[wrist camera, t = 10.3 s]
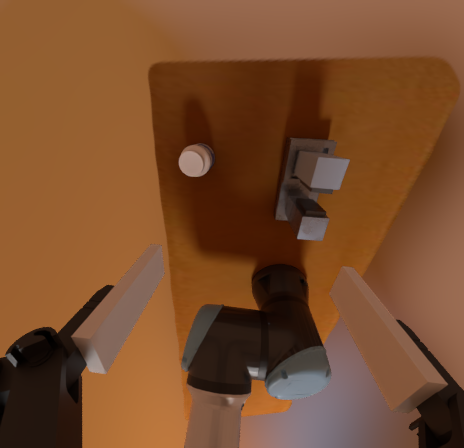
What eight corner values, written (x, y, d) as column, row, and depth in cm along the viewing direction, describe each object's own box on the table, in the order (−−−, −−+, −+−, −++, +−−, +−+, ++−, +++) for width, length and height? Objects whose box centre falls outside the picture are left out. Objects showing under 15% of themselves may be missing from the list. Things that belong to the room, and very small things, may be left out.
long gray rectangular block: (313, 179, 34) (336, 195, 25) (292, 177, 34) (308, 192, 25) (320, 152, 32) (349, 159, 23) (298, 150, 32) (318, 157, 23)
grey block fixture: (307, 217, 40) (330, 249, 29) (273, 214, 41) (284, 245, 29) (328, 139, 33) (370, 143, 22) (287, 137, 33) (308, 139, 22)
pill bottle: (193, 172, 37) (180, 183, 30) (186, 146, 35) (169, 150, 27) (218, 168, 37) (210, 177, 29) (211, 140, 34) (201, 142, 26)
